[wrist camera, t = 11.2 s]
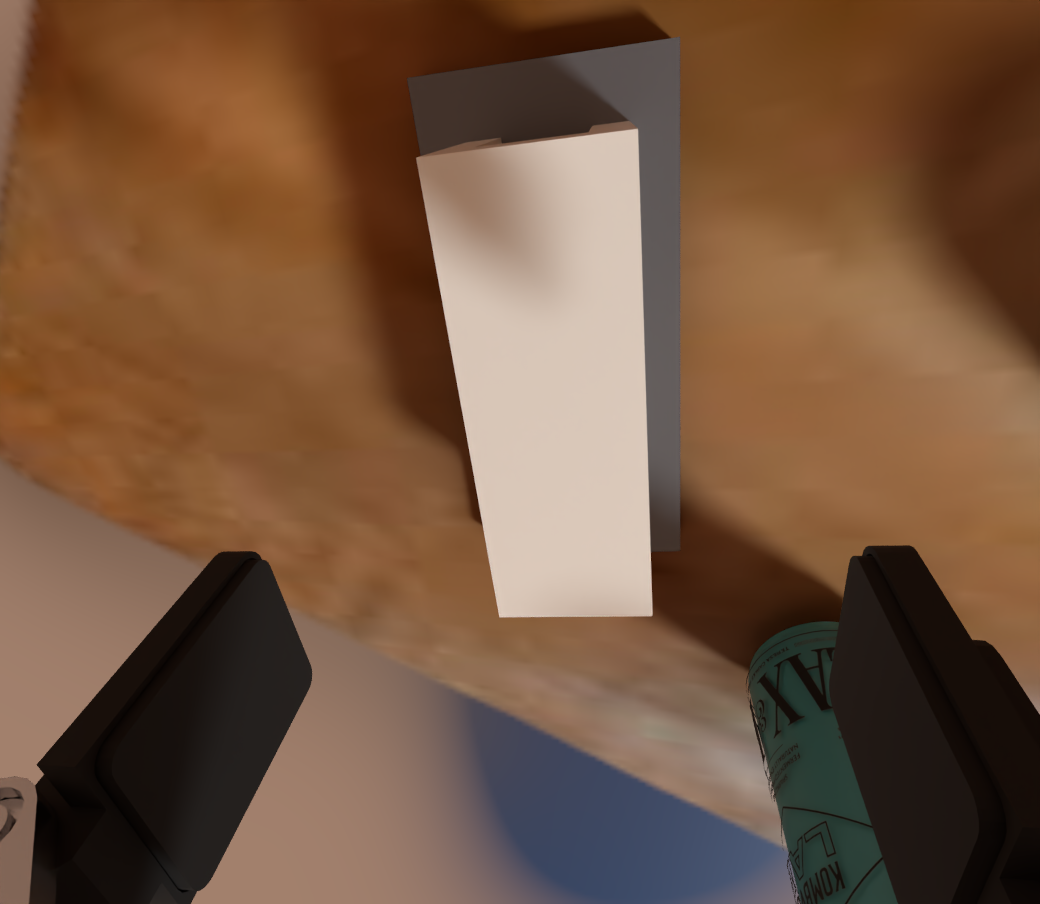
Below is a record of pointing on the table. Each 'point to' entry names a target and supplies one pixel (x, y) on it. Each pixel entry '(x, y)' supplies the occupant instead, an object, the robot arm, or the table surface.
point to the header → (656, 113)
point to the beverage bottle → (814, 771)
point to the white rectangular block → (550, 361)
